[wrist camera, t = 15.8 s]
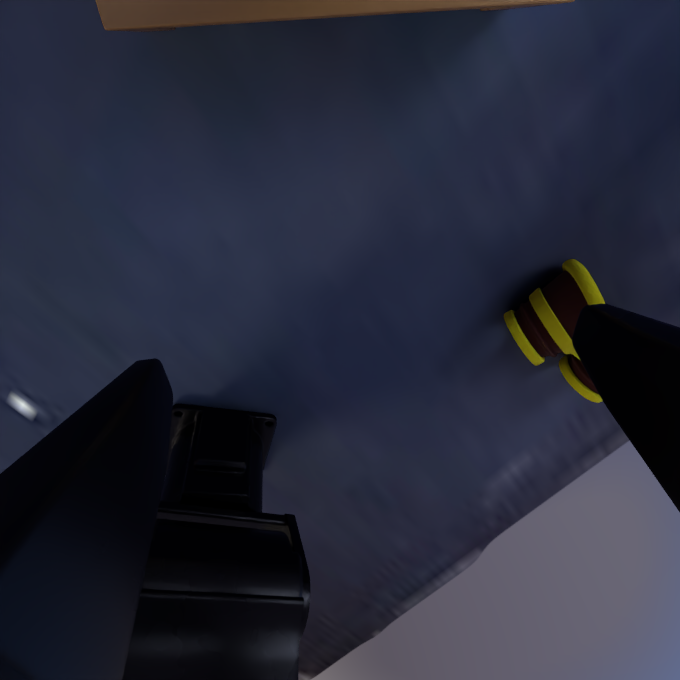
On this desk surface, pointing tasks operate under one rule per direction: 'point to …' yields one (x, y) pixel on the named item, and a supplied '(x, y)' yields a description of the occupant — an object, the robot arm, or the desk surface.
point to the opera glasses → (557, 323)
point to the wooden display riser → (272, 10)
